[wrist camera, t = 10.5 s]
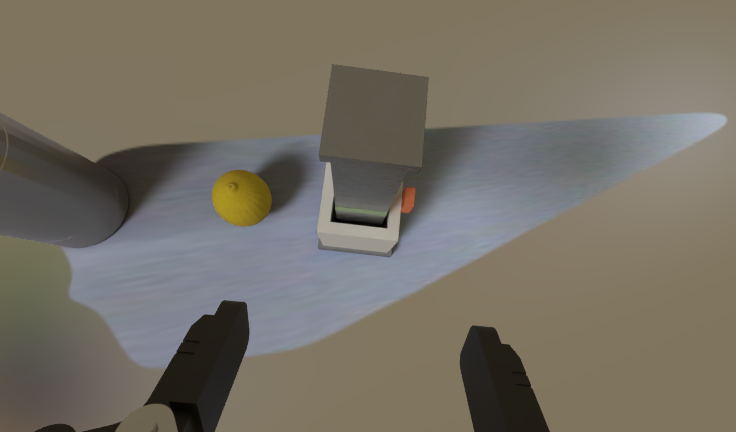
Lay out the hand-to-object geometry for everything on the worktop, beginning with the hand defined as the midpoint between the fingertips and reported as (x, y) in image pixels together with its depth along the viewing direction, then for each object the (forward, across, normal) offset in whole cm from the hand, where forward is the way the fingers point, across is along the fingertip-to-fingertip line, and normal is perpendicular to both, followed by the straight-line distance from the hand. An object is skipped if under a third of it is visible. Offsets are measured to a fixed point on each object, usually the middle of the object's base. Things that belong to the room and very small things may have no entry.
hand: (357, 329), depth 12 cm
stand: (+25, 0, +11) cm, 27 cm away
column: (+20, 0, +6) cm, 21 cm away
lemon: (+25, +12, +11) cm, 30 cm away
